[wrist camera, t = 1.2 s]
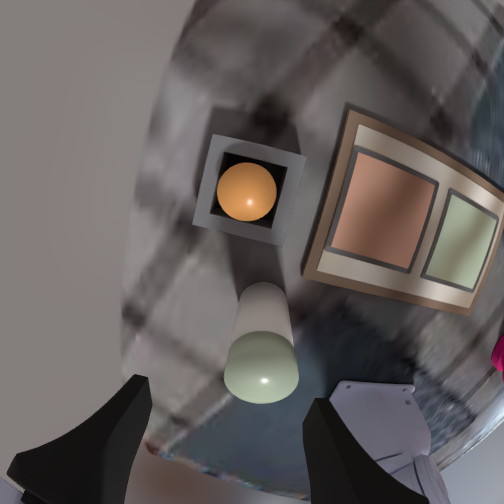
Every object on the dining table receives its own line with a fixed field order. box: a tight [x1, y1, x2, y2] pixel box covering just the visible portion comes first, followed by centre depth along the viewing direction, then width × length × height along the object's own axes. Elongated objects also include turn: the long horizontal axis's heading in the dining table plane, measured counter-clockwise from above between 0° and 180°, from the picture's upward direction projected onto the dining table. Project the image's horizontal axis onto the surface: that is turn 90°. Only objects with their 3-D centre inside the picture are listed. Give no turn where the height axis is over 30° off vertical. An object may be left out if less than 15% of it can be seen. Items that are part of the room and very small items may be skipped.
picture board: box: [301, 110, 504, 316], centre depth 18 cm, size 18×12×1 cm, turn 76°
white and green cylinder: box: [224, 282, 299, 403], centre depth 16 cm, size 4×4×8 cm
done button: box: [217, 163, 276, 221], centre depth 15 cm, size 3×3×2 cm
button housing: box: [193, 134, 307, 247], centre depth 17 cm, size 6×6×2 cm
